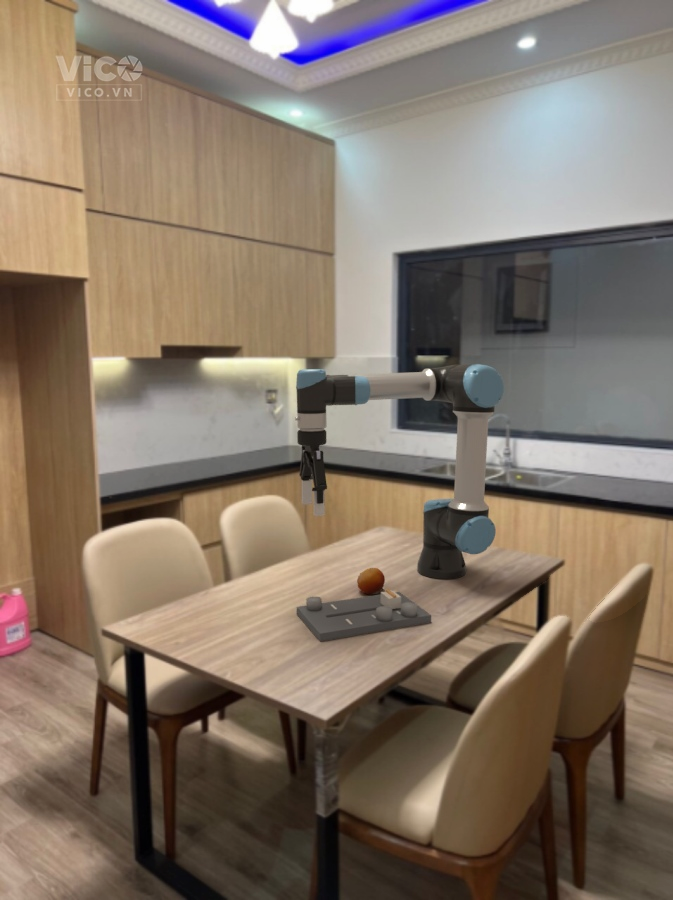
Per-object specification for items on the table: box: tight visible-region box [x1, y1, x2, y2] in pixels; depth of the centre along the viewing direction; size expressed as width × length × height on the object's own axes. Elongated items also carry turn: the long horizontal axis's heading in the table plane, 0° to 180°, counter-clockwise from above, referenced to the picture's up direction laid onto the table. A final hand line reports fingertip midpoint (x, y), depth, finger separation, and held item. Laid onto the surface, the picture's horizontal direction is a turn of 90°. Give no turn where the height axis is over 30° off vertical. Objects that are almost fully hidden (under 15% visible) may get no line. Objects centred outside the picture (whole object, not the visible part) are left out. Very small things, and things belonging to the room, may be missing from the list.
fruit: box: [356, 567, 386, 596], centre depth 186 cm, size 8×8×8 cm
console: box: [296, 591, 432, 642], centre depth 167 cm, size 30×18×4 cm, turn 111°
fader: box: [380, 588, 401, 609], centre depth 169 cm, size 4×5×4 cm
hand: (312, 509), depth 170 cm, fingers open, 13 cm apart
